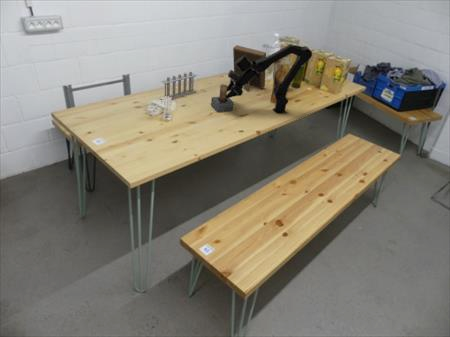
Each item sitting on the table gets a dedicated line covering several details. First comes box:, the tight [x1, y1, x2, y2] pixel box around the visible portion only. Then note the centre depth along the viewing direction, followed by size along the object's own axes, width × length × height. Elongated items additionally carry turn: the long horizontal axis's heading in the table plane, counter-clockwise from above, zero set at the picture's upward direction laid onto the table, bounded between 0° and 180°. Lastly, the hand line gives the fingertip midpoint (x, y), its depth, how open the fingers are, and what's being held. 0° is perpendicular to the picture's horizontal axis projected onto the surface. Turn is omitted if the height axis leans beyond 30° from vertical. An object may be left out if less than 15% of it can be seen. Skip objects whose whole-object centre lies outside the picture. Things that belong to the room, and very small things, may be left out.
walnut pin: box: [218, 84, 228, 102], centre depth 207 cm, size 4×4×13 cm
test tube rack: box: [160, 70, 198, 100], centre depth 218 cm, size 25×4×13 cm, turn 138°
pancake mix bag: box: [270, 54, 291, 104], centre depth 222 cm, size 7×19×28 cm, turn 137°
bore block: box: [210, 96, 235, 113], centre depth 209 cm, size 10×10×5 cm
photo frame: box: [232, 45, 267, 92], centre depth 238 cm, size 15×22×25 cm
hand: (225, 94), depth 206 cm, fingers open, 9 cm apart
